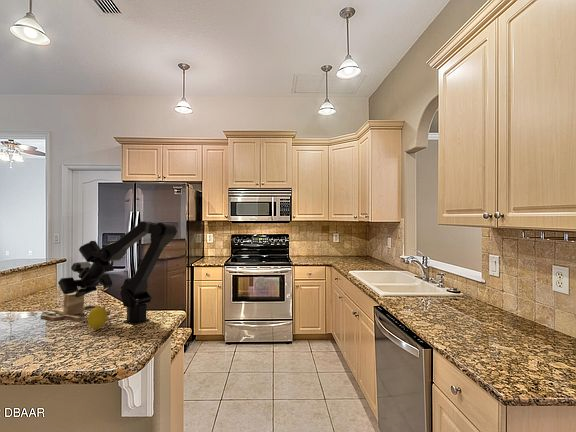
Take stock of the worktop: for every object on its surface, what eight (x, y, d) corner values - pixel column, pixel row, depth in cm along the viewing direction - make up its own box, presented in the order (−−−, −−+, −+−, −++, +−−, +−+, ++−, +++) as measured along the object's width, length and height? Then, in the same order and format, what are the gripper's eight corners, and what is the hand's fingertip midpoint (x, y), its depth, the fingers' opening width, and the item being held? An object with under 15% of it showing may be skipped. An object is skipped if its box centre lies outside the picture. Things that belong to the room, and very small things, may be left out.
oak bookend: (83, 312, 125) (84, 292, 125) (67, 315, 119) (69, 295, 120) (66, 309, 129) (67, 290, 130) (51, 312, 124) (52, 292, 124)
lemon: (110, 327, 104) (111, 304, 105) (98, 332, 99) (99, 307, 99) (95, 327, 105) (96, 303, 105) (82, 332, 99) (84, 307, 100)
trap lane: (118, 311, 126) (118, 308, 126) (67, 323, 108) (67, 320, 108) (83, 306, 136) (83, 303, 136) (31, 316, 118) (31, 313, 118)
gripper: (110, 254, 130) (91, 278, 134) (63, 256, 113) (43, 284, 117) (121, 274, 126) (102, 298, 130) (74, 279, 109) (54, 307, 113)
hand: (76, 296), depth 122 cm, fingers closed, pressing on oak bookend
